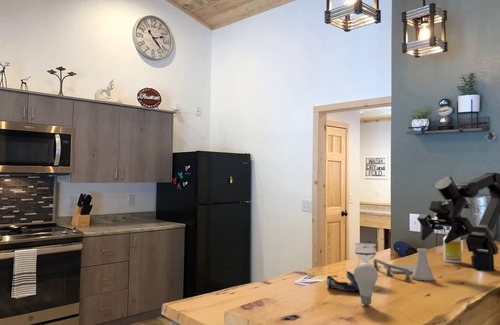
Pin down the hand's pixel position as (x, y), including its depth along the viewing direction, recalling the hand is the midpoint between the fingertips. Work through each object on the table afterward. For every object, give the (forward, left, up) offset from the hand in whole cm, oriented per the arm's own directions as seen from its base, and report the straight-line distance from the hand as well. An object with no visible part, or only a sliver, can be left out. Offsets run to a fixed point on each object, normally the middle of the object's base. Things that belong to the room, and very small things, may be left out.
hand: (433, 241), depth 136 cm
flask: (+5, +4, -12) cm, 14 cm away
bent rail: (+15, 0, -12) cm, 19 cm away
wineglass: (+24, +12, -12) cm, 29 cm away
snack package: (+29, +24, -13) cm, 40 cm away
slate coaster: (+9, -9, -12) cm, 18 cm away
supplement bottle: (-14, -32, -12) cm, 37 cm away
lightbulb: (+26, +40, -12) cm, 49 cm away
